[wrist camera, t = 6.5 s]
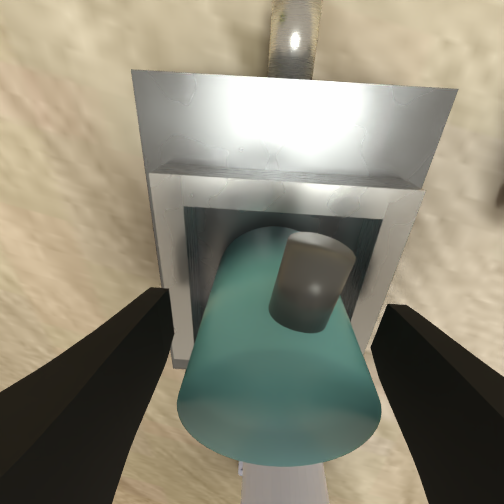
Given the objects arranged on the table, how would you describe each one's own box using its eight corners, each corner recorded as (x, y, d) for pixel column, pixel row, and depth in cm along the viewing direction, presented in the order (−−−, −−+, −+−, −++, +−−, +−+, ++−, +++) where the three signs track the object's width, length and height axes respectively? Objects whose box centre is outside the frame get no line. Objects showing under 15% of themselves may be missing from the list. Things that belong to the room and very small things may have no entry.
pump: (310, 325, 13) (338, 477, 8) (212, 307, 13) (173, 451, 7) (361, 198, 10) (472, 308, 4) (233, 172, 9) (188, 254, 4)
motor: (335, 334, 18) (358, 408, 13) (188, 323, 18) (164, 393, 14) (426, 19, 10) (555, -51, 5) (161, 3, 10) (80, -76, 6)
